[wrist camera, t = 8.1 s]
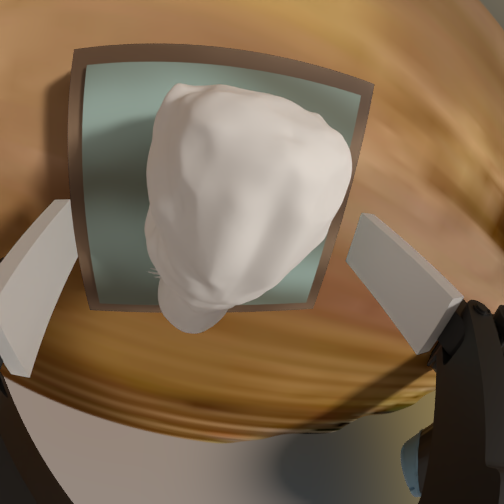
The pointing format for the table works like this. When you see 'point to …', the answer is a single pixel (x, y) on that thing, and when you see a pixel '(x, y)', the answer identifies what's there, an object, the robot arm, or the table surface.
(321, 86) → the square wooden tray
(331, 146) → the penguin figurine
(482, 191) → the table surface
